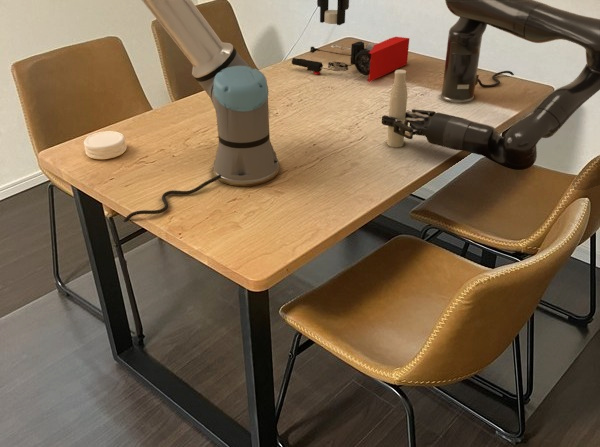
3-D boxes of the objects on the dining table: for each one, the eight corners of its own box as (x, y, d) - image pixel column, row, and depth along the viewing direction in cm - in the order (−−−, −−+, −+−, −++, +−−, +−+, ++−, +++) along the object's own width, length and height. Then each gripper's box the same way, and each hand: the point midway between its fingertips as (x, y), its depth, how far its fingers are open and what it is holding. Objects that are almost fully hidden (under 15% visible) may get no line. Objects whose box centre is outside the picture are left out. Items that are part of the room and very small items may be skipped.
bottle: (397, 148, 155) (402, 75, 145) (383, 144, 157) (388, 71, 147) (406, 143, 157) (412, 70, 147) (393, 139, 160) (398, 67, 150)
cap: (343, 20, 147) (343, 10, 146) (337, 24, 144) (337, 14, 143) (328, 19, 149) (328, 9, 148) (321, 23, 146) (321, 12, 144)
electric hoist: (290, 38, 202) (370, 53, 187) (334, 24, 221) (410, 36, 206) (290, 69, 207) (368, 86, 192) (333, 52, 226) (407, 67, 211)
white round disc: (96, 164, 150) (94, 150, 148) (79, 150, 156) (76, 138, 154) (134, 151, 155) (131, 138, 153) (115, 139, 162) (113, 127, 160)
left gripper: (293, -89, 135) (293, 21, 147) (363, -84, 128) (357, 31, 140) (310, -92, 140) (309, 14, 153) (378, -88, 133) (371, 23, 146)
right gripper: (436, 157, 144) (372, 140, 152) (461, 136, 153) (399, 120, 162) (439, 127, 140) (373, 111, 148) (465, 107, 149) (401, 93, 158)
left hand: (332, 22), depth 147 cm, fingers closed on cap, 4 cm apart
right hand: (387, 116), depth 155 cm, fingers closed on bottle, 4 cm apart
